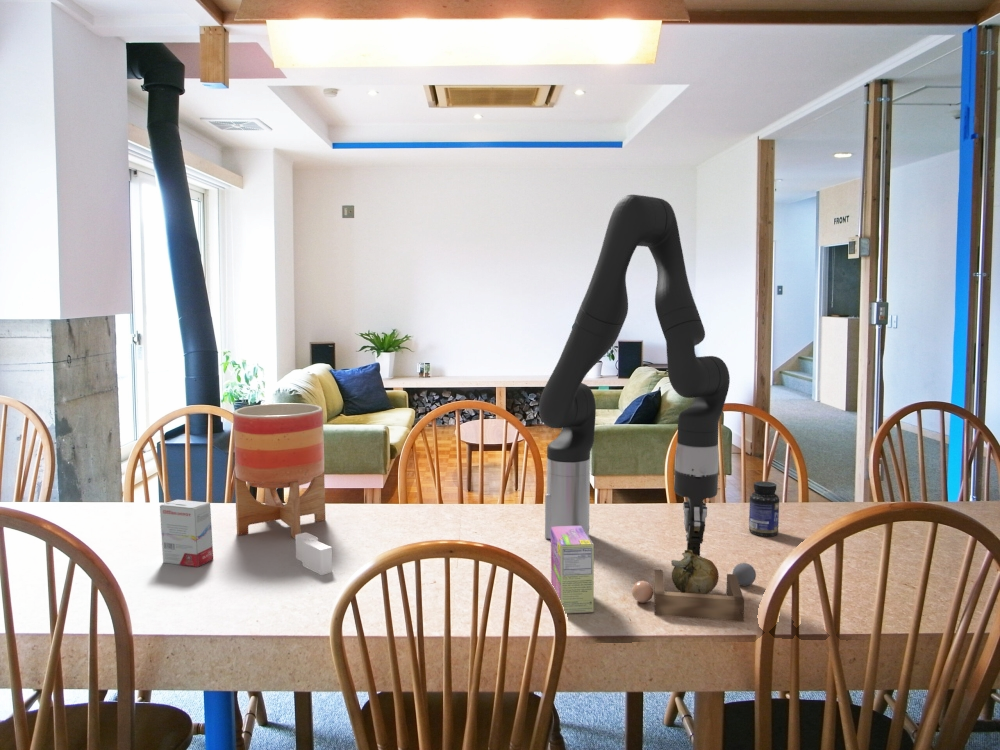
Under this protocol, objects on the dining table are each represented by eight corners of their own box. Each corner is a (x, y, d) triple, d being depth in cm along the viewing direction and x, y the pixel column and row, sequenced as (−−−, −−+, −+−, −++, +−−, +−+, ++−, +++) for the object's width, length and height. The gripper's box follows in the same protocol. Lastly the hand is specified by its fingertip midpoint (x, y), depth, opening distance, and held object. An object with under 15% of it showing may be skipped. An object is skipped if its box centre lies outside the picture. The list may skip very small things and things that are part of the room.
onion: (715, 605, 129) (716, 559, 128) (667, 598, 132) (668, 553, 131) (720, 589, 136) (721, 545, 135) (674, 582, 139) (675, 540, 138)
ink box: (214, 559, 152) (212, 501, 150) (197, 568, 147) (194, 508, 146) (179, 554, 154) (176, 497, 153) (161, 562, 150) (158, 504, 149)
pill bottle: (780, 538, 164) (782, 487, 163) (750, 536, 166) (752, 486, 164) (775, 529, 170) (777, 480, 169) (747, 527, 172) (748, 479, 170)
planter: (341, 530, 170) (338, 410, 167) (251, 547, 159) (246, 419, 156) (309, 509, 186) (306, 400, 184) (225, 523, 175) (220, 407, 172)
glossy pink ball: (631, 605, 129) (631, 584, 129) (631, 597, 133) (632, 576, 132) (653, 606, 129) (653, 586, 128) (652, 598, 132) (653, 578, 132)
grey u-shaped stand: (654, 614, 125) (655, 594, 125) (653, 588, 137) (654, 569, 136) (743, 621, 123) (744, 600, 123) (735, 593, 134) (735, 574, 134)
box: (550, 590, 136) (550, 525, 135) (581, 589, 136) (582, 524, 135) (559, 615, 126) (560, 545, 124) (593, 613, 126) (594, 544, 125)
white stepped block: (340, 579, 142) (339, 549, 142) (278, 582, 141) (277, 552, 141) (348, 552, 157) (347, 525, 157) (292, 554, 156) (291, 527, 156)
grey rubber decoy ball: (733, 588, 137) (734, 566, 136) (731, 580, 140) (731, 559, 140) (757, 590, 136) (757, 568, 135) (753, 581, 140) (754, 560, 139)
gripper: (673, 458, 144) (670, 547, 146) (676, 476, 131) (673, 573, 133) (714, 460, 142) (711, 550, 144) (722, 478, 129) (718, 577, 131)
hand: (693, 561), depth 139 cm, fingers closed
